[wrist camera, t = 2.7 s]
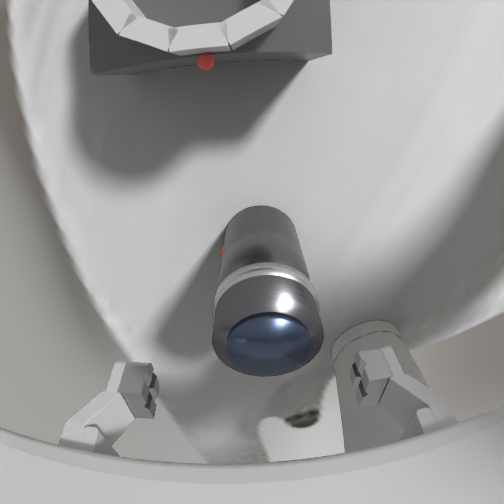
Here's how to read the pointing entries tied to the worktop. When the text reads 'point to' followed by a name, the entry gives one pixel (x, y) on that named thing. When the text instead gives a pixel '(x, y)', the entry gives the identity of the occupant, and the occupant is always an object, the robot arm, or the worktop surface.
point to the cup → (354, 417)
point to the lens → (264, 297)
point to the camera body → (204, 32)
